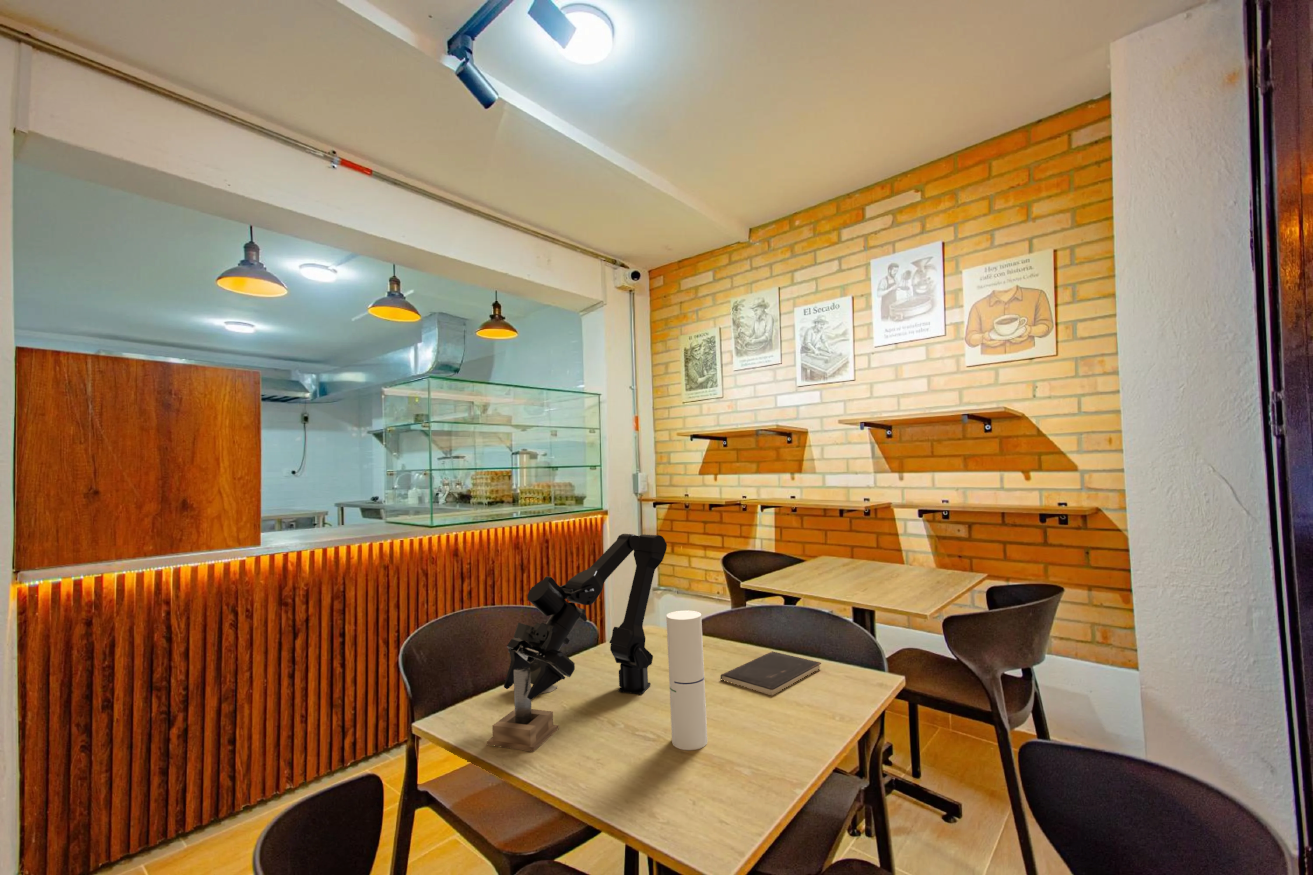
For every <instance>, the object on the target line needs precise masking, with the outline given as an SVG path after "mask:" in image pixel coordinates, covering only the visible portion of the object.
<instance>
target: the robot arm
mask: <svg viewBox="0 0 1313 875" xmlns="http://www.w3.org/2000/svg"><path fill="white" fill-rule="evenodd" d="M667 547H668V544H667V542H666V540H665V538H664V536H662V535H659V534H646V533H644V534H640V535H636V534H634V533H622V534H620V535H618V536H617V539H616V540H615V541H614V542H613V543H612V544H611V545H610V546H609V548H607V549H606V550H605V552H603V553H602V554H601V556H600V557H599V558H598V559H597V560H596V561H595V562H594V563H593V564H592V565H591V566H590V567H588V568H587V569H585V570H581V572H578V573H577V574H575V575H574V576H572V577H571V578H569V579H568V580H567V582H566V583H565V584H563V585H558V583H557V582H556V580H555V579H554V578H553V577H552V576H548V575H547V576H545V577H544V578H543V579H542V580H540V581H539V582H536V584H535V585H533V586H531V587H530V589H529V591H528V594H527V601H528V602H530V604H531V605H532V606H534V607H535V608H536V609H537V610H538V611H539V612H540V613H542V614H543V615H544V616H546V617H549V616H550V617H549V618H548V619H547V621H546V623H544V622H541V623H539V622H537V623H535V624H534V625H530V624H529V625H528V624H526V623H522V622H517V625H516V629H515V632H514V634H513V637H512V638H511V639H510V641H509V642H508V644H507V645H506V648H507V649H508V650H507V652H508V653H509V656H510V663H509V666H508V670H507V675H506V678H505V680H504V683H503V688H504V689H506V690H508V689H510V688H511V687H512V686H514V669H516V668H519V667H530V666H531V664H530V663H531V662H532V661H534V660H535V659H537V660H540V661H541V670H540V673H539V675H538V677H537V678H536V680H535V682H534V684H532V685H531V687H532V688H531V690H530V692H529V694H528V696H527V698H528V699H530V700H531V701H532V700H533V699H535V698H536V697H538V696H540V695H541V694H540V693H542V692H543V691H545V690H546V689H547V688H549V687H550V686H552V685H555V684H556V683H559V682H560V681H562V680H565V679H566V677H568V678H571V677H572V675H573V674H574V672H575V669H576V666H575V662H574V661H573V660H571V658H570V657H568V656H567V655H566V654H565V653H564V652H563V651H561V648H562V646H563V645H564V644H565V645H569V643H570V641H571V640H570V639H569V638H568V637H569V635H570V633H572V631H573V628H574V627H575V625H576V624H577V623H578V621H582V622H587V620H588V616H587V613H586V609H585V608H582V607H581V608H580V607H578V605H576V604H579V605H583V606H591V605H593V604H594V603H595V602H596V600H597V599H598V597H599V596H600V595H601V593H602V592H603V589H604V585H605V582H606V581H607V579H608V578H609V577H610V576H611V575H612V574H613V573H614V572H615V571H616V569H617V568H618V567H619V566H620V565H621V564H622V563H623V562H624V561H625V560H626V559H627V558H628V556H629V555H630V554H631V553H632V552H633V557H634V561H635V565H636V566H635V572H634V575H633V579H632V584H631V587H630V593H629V596H628V597H629V598H628V601H627V605H626V609H625V614H624V619H623V621H622V622H621V624H620V625H619V626H614V627H613V629H612V634H611V637H610V640H609V644H610V645H609V646H610V647H609V648H610V649H609V650H610V652H611V654H612V656H613V658H614V660H615V663H617V664H619V666H620V667H619V670H618V686H619V687H620V688H618V689H617V690H618V692H619V693H624V694H625V693H626V694H628V693H629V694H635V695H636V694H638V695H643V694H644V693H645V692H646V691H647V689H648V688H649V687H651V685H652V683H651V682H649V675H648V673H649V671H648V668H649V666H651V665H652V664H653V658H654V655H653V654H652V653H651V652H650V651H649V650H648V649H647V648H646V635H645V632H644V631H645V630H644V627H643V626H644V620H645V616H646V612H647V606H648V602H649V598H650V594H651V588H652V584H653V580H654V575H655V572H656V569H657V568H658V567H659V566H660V565H661V563H662V562H663V560H664V558H665V555H666V552H667ZM537 654H538V655H537ZM543 656H544V657H543ZM528 662H529V663H528ZM542 694H543V693H542Z"/></svg>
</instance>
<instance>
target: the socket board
mask: <svg viewBox="0 0 1313 875" xmlns="http://www.w3.org/2000/svg"><path fill="white" fill-rule="evenodd" d="M531 711H532V721H531V722H530V723H529V724H527V725H525V724H517V723H515V708H514V709H513V710H512V711H510V712H509V713H507V714H506V715H505V716H503V717H502V718H501V719H499V720H498V721H496V722H495V723H493V724H492V726H491V727H492V728H491V729H492V730H491V731H492V737H491V738H489V739H488V740H487V741H486V745H487V744H488V745H487V746H490V745H495V746H494V747H497V746H501V747H500V748H504V747H506V748H507V749H511V748H512V749H513V750H519V751H525V752H535V751H537V749H539V748H540V747H541V746H542V745H543V744H544V743H545V742H547V740H549V738H551V737H552V736H553V735H554V734H555V733H556V732H558V730H559V728H560V727H559V724H554V711H552V710H545V709H544V710H543V709H534V708H531ZM512 749H511V750H512Z"/></svg>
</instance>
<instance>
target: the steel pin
mask: <svg viewBox="0 0 1313 875" xmlns="http://www.w3.org/2000/svg"><path fill="white" fill-rule="evenodd" d="M531 687H532V685H531V681H530V668H529V667H519V668H516V669H514V684H513V692H514V709H515V723H517V724H525V725H527V724H529V723H530V722H531V721H532V711H531V709H532V700H530V699H528V698H527V696H528V694H529V692H530V690H531Z"/></svg>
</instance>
